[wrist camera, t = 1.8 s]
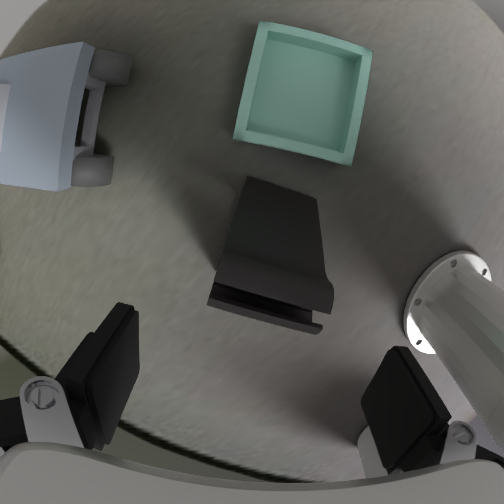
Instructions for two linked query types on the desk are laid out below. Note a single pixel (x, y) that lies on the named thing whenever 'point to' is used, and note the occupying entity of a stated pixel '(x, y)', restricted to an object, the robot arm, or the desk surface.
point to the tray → (304, 93)
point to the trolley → (55, 115)
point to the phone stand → (274, 260)
